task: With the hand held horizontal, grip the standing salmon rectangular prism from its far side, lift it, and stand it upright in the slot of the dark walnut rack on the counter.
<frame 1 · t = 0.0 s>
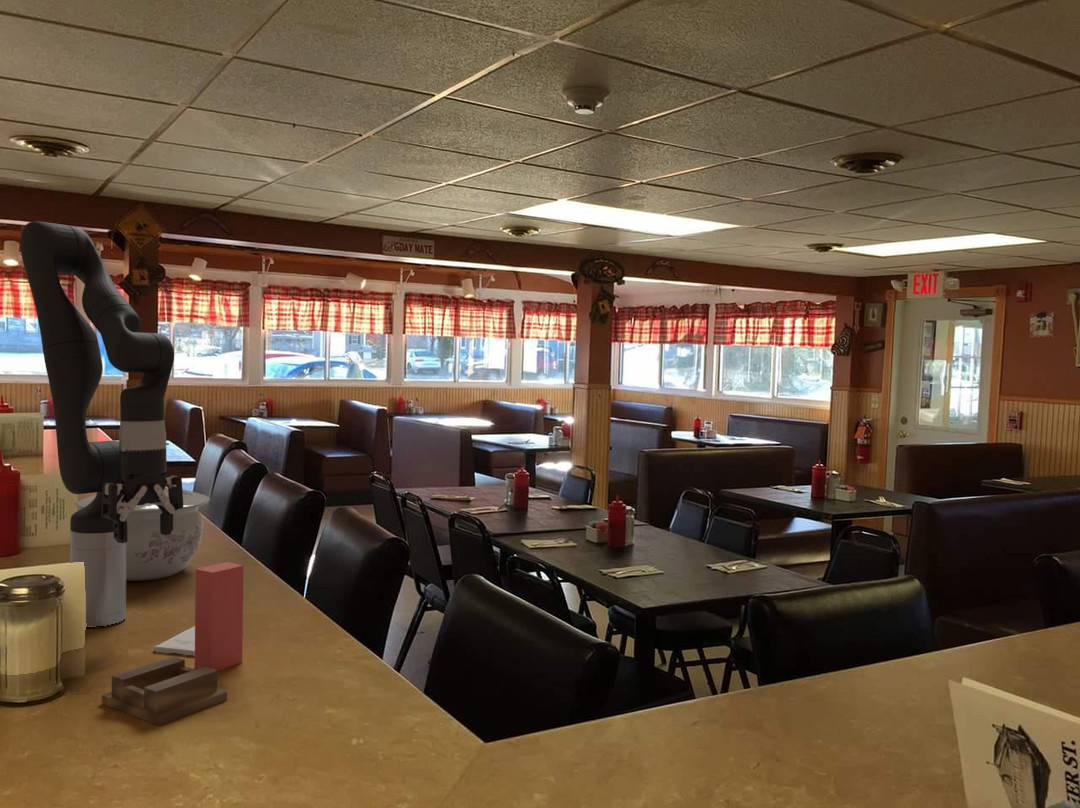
hand: (144, 538, 152), 17 cm above the worktop, tool pointing down, fingers open, 8 cm apart
chamber pot: (145, 574, 195), on the worktop
external hard drive: (196, 646, 150), on the worktop
rack: (165, 701, 125), on the worktop
salmon rectangular prism: (218, 665, 140), on the worktop
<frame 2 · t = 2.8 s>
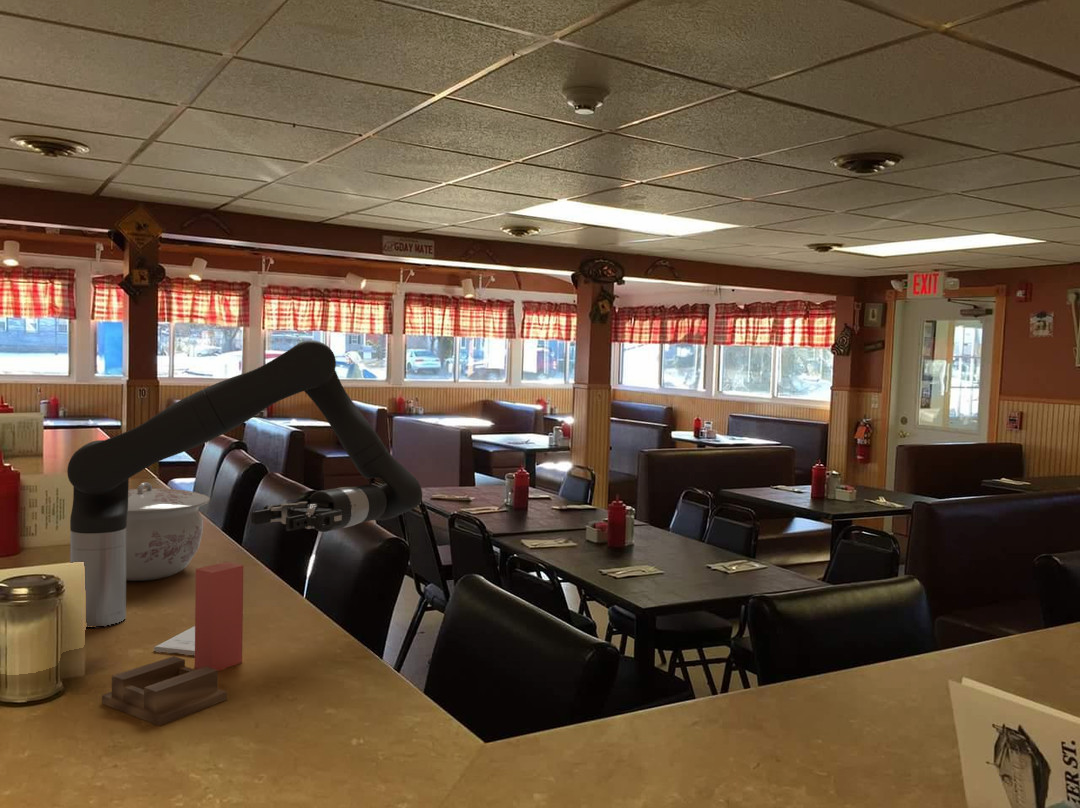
hand: (269, 521, 147), 22 cm above the worktop, tool horizontal, fingers open, 8 cm apart
nothing on the worktop moved.
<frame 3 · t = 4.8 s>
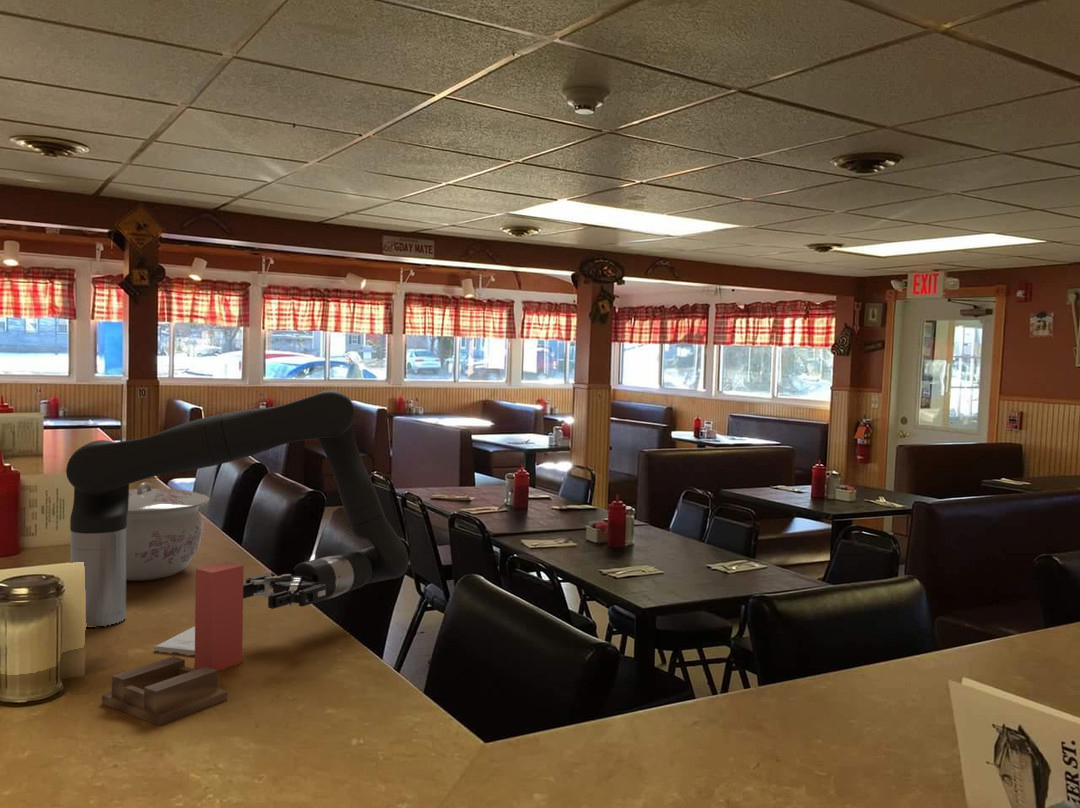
hand: (252, 598, 145), 9 cm above the worktop, tool horizontal, fingers open, 8 cm apart
nothing on the worktop moved.
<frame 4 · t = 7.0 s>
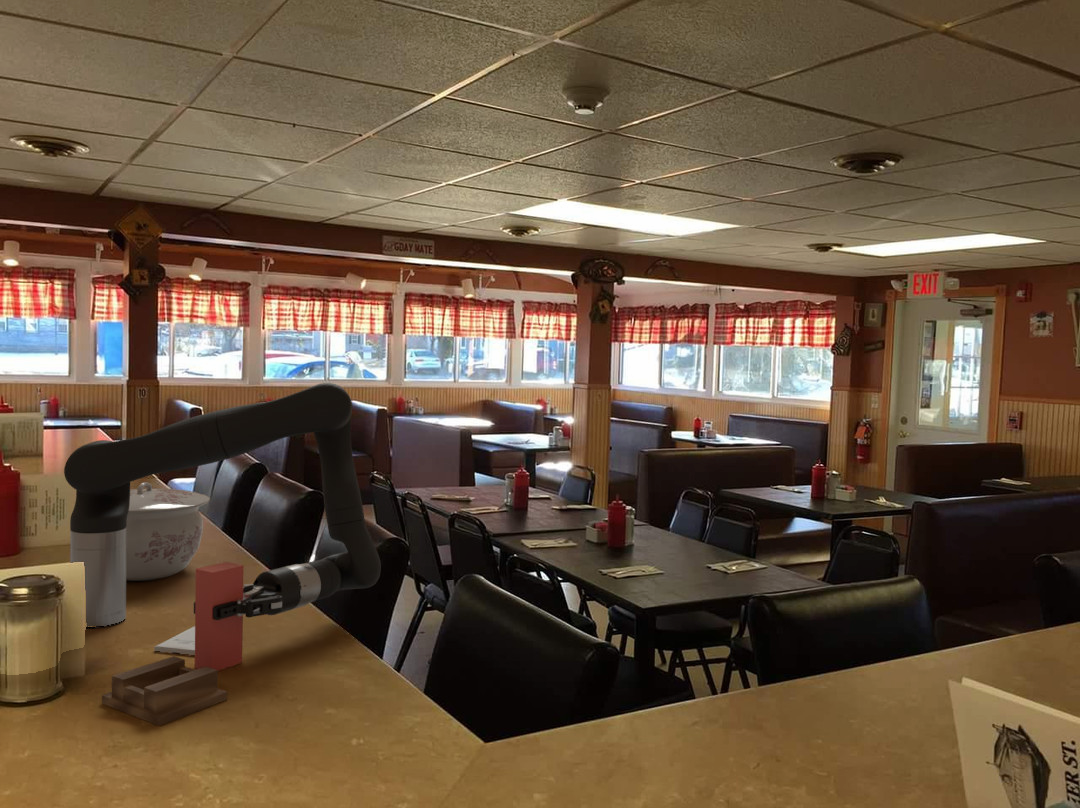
hand: (205, 610, 137), 10 cm above the worktop, tool horizontal, fingers closed on salmon rectangular prism, 4 cm apart
salmon rectangular prism: (218, 665, 140), on the worktop, touching gripper
everything else where it was.
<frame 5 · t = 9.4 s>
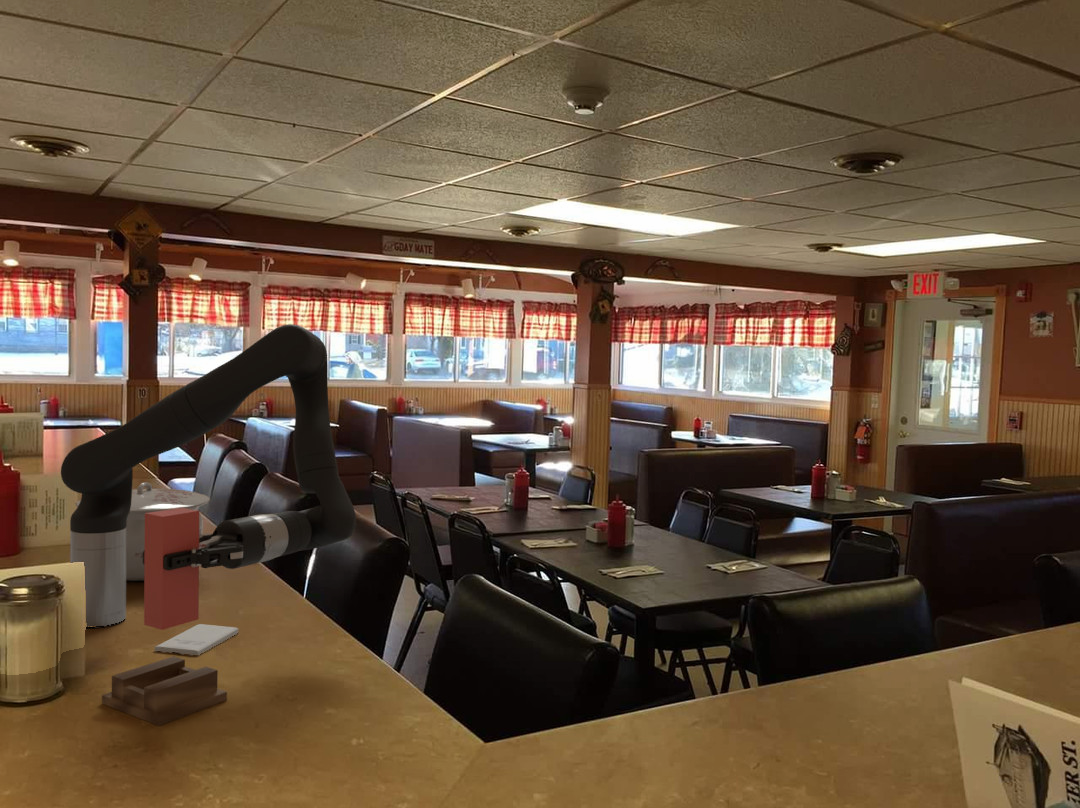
hand: (155, 560, 122), 21 cm above the worktop, tool horizontal, fingers closed on salmon rectangular prism, 4 cm apart
salmon rectangular prism: (171, 622, 125), point 11 cm above the worktop, touching gripper
everything else where it was.
when the fingers open (12 cm above the worktop, at t = 12.0 s): salmon rectangular prism drops 1 cm, resting on rack.
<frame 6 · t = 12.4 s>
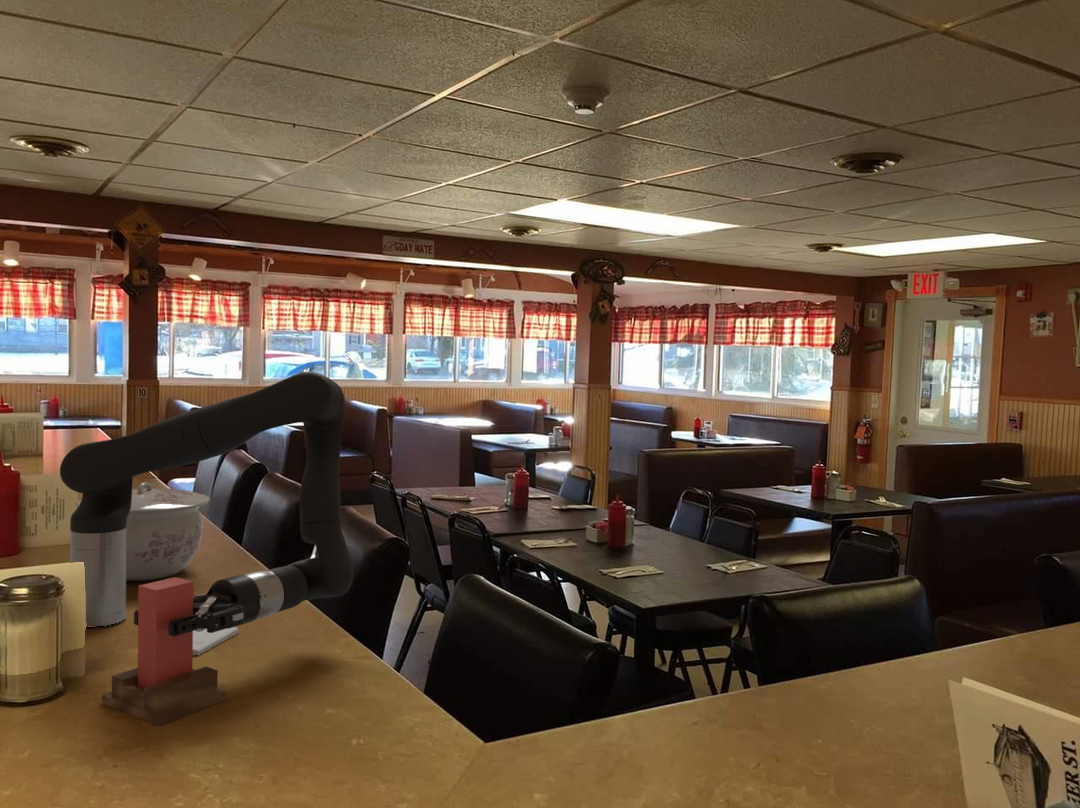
hand: (152, 623, 122), 12 cm above the worktop, tool horizontal, fingers open, 7 cm apart
salmon rectangular prism: (165, 693, 125), point 1 cm above the worktop, touching rack
everything else where it was.
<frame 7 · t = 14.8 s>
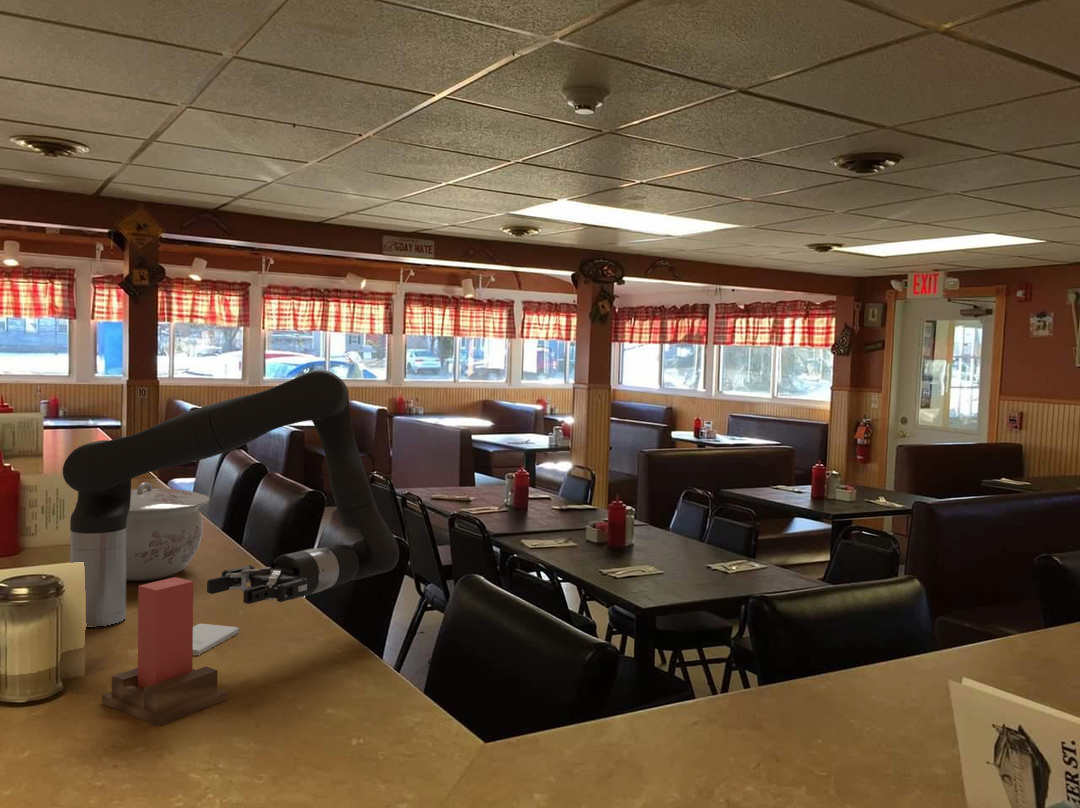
hand: (226, 592, 134), 13 cm above the worktop, tool horizontal, fingers open, 8 cm apart
nothing on the worktop moved.
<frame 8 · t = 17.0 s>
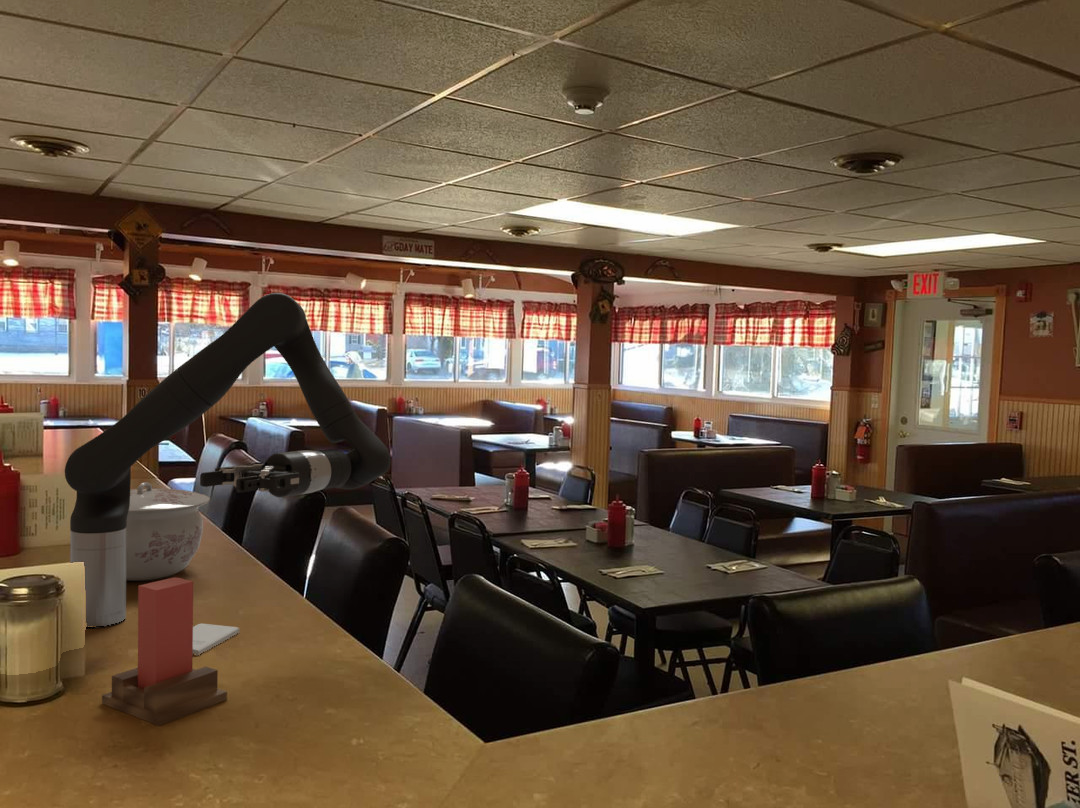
hand: (219, 482, 136), 30 cm above the worktop, tool horizontal, fingers open, 8 cm apart
nothing on the worktop moved.
at the end: salmon rectangular prism 0.0 cm off-centre on the rack, point 1.2 cm above the rack's base; salmon rectangular prism tilted 0°; the gripper is holding nothing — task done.
